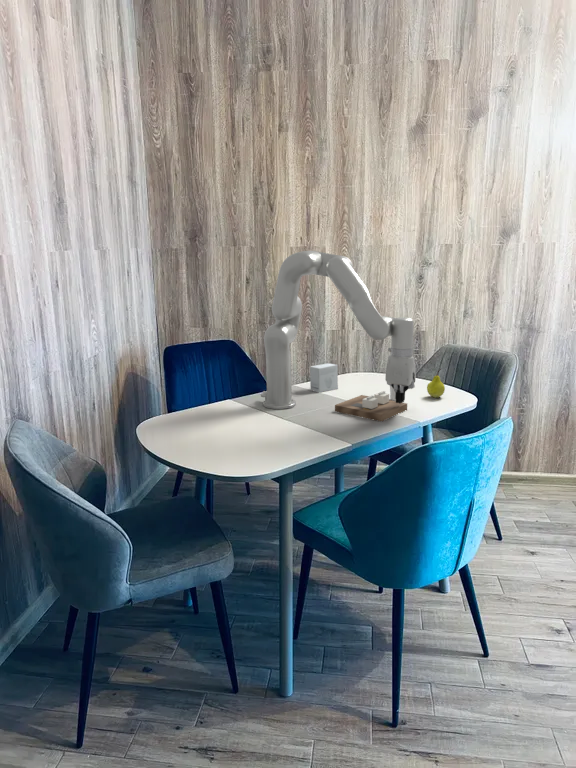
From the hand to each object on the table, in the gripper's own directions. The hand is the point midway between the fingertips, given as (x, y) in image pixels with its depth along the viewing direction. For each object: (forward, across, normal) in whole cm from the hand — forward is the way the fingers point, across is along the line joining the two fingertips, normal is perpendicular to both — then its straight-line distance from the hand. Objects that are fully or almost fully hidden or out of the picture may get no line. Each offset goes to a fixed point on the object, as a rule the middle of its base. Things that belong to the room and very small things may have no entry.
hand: (399, 402), depth 206 cm
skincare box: (+4, -43, +11) cm, 44 cm away
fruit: (+4, 0, +28) cm, 28 cm away
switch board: (+4, -10, -4) cm, 11 cm away
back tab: (+1, -8, 0) cm, 8 cm away
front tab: (+1, -8, -8) cm, 11 cm away
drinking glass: (+4, -10, +15) cm, 18 cm away
